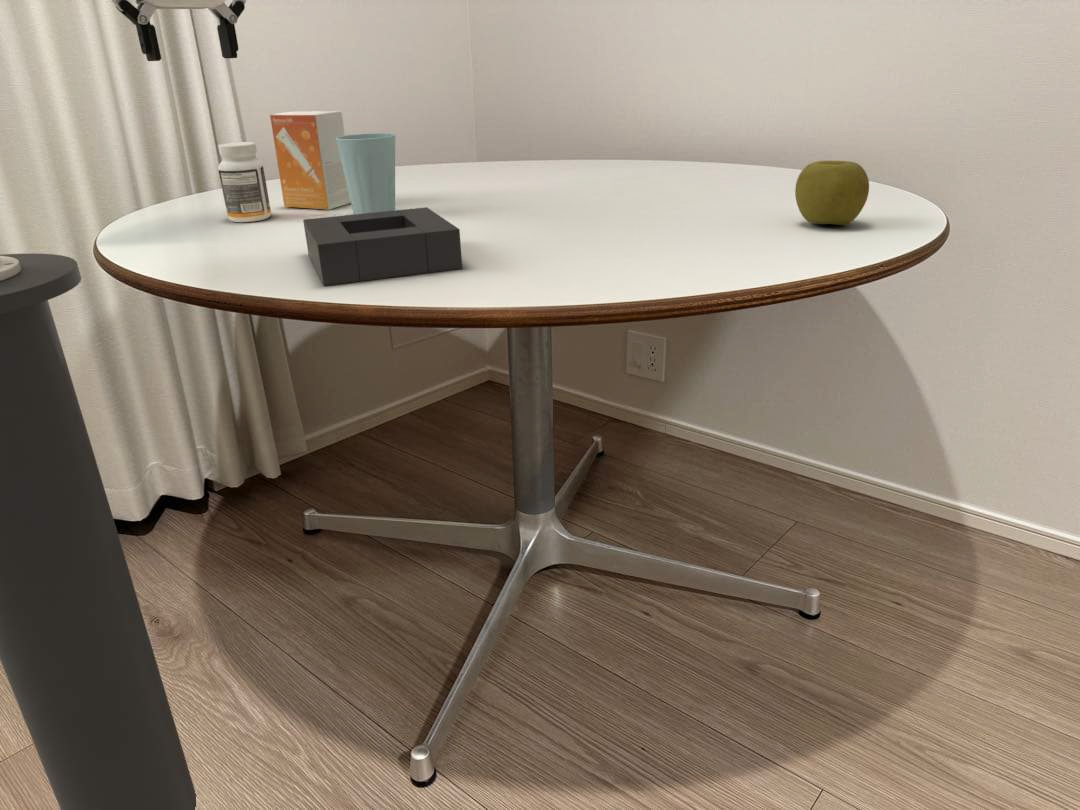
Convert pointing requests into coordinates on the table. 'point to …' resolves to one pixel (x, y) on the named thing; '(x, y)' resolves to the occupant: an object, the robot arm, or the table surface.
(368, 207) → the cup
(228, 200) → the pill bottle
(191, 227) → the table surface
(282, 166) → the small box
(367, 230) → the dock
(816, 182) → the apple
